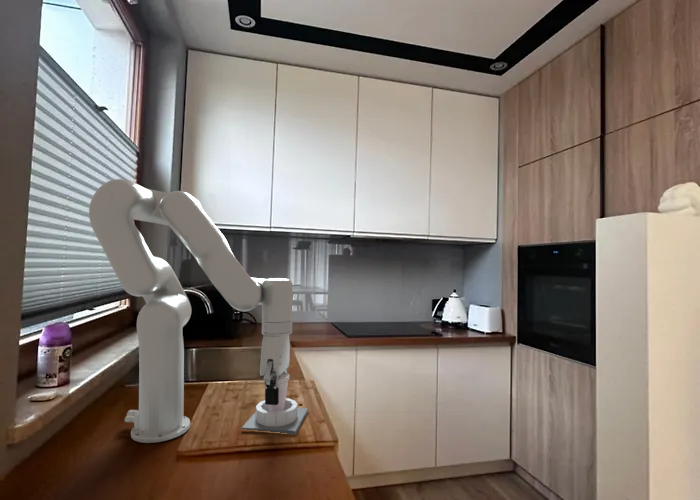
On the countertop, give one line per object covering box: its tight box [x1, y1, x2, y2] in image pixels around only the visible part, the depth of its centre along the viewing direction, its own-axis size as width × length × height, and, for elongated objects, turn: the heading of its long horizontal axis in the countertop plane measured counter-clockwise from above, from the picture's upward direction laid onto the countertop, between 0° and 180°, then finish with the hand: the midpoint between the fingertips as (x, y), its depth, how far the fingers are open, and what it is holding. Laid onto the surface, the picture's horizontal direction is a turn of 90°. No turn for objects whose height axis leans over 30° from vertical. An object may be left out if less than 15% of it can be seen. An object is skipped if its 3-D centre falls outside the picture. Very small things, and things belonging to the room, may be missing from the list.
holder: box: [241, 397, 309, 436], centre depth 96 cm, size 13×13×4 cm
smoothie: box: [268, 372, 290, 412], centre depth 96 cm, size 6×6×14 cm
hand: (276, 398), depth 96 cm, fingers closed on smoothie, 6 cm apart
